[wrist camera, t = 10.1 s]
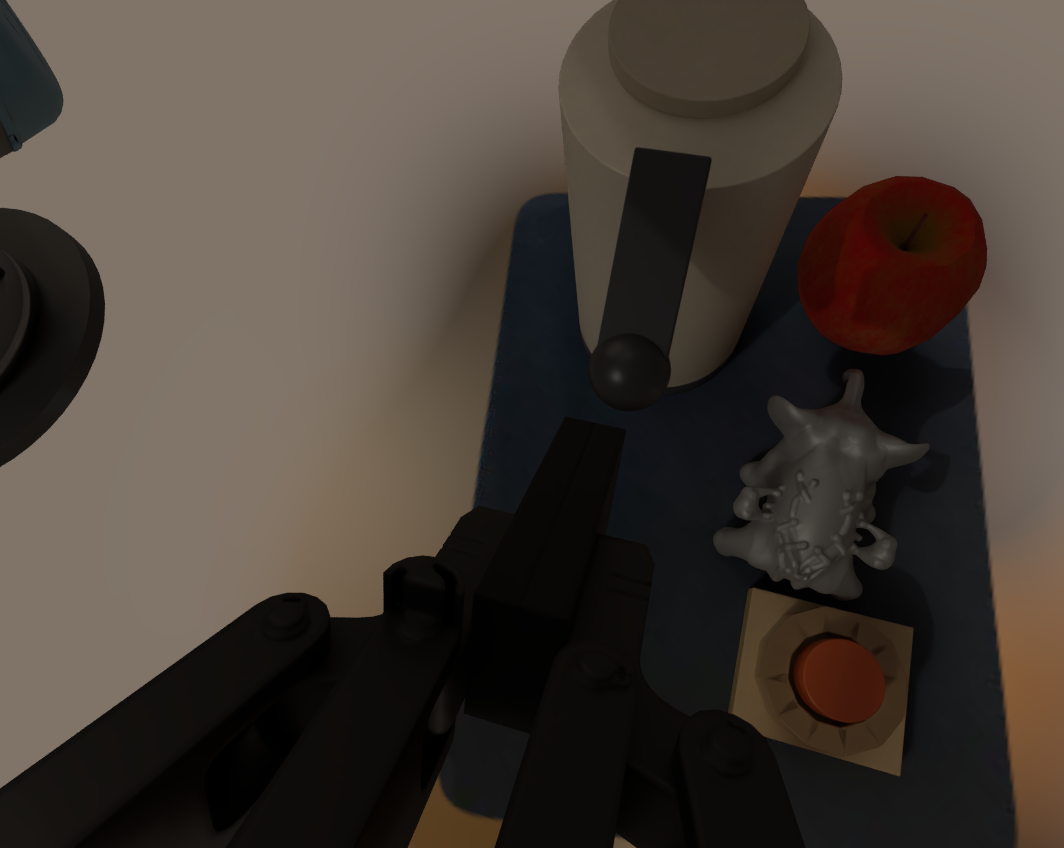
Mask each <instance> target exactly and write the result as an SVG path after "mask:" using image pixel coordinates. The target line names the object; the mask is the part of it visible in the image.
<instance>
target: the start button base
mask: <svg viewBox="0 0 1064 848" xmlns="http://www.w3.org/2000/svg"><path fill="white" fill-rule="evenodd" d="M821 639H846V640H850V641H853V642H856V643H858V644H860V645H861V646H863V647H864V648H866V649H867V650H868V651H869V652H870V653H871V654H872V655H873V656H874V657H875V658H876V660H877V661H878V663H879V664H880V666H881V668H882V671H883V674H884V678H885V684H886V690H885V697H884V700H883V702H882V705H881V706H880V708H879V709H878V711H877V712H876V713H875V714H874V715H872V716H871V717H870V718H868V719H866V720H864V721H861V722H856V723H845V722H840V721H837V720H834V719H831V718H828V717H825V716H822V715H820V714H818V713H816V712H815V711H813V710H812V709H811V708H810V707H809V706H808V705H807V704H806V703H805V702H804V701H803V700H802V698H801V697H800V695H799V693H798V691H797V689H796V686H795V682H794V665H795V661H796V658H797V656H798V655H799V653H800V652H801V650H802V649H803V648H804V647H805V646H807V645H808V644H810V643H812V642H814V641H817V640H821ZM912 640H913V628H912V627H908V626H904V625H900V624H896V623H892V622H888V621H884V620H880V619H876V618H872V617H868V616H864V615H860V614H856V613H852V612H848V611H845V610H841V609H837V608H833V607H829V606H825V605H821V604H817V603H813V602H809V601H805V600H801V599H797V598H793V597H789V596H785V595H781V594H777V593H773V592H769V591H766V590H762V589H758V588H751V589H749V590H748V594H747V601H746V607H745V613H744V619H743V625H742V631H741V637H740V643H739V649H738V655H737V661H736V667H735V674H734V680H733V686H732V692H731V698H730V704H729V710H728V713H732V714H735V715H736V716H738V717H740V718H742V719H743V720H745V721H747V722H749V723H750V724H752V725H753V726H754V727H755V728H756V729H757V730H758V731H759V732H760V733H761V734H762V735H763V736H764V737H768V738H771V739H775V740H778V741H781V742H785V743H788V744H792V745H795V746H798V747H802V748H805V749H809V750H812V751H815V752H819V753H822V754H826V755H829V756H832V757H836V758H839V759H843V760H846V761H849V762H853V763H856V764H860V765H863V766H866V767H870V768H873V769H877V770H880V771H883V772H887V773H890V774H894V775H897V776H900V774H901V763H902V752H903V740H904V729H905V718H906V707H907V696H908V685H909V674H910V662H911V651H912Z"/></svg>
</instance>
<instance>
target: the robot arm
mask: <svg viewBox="0 0 1064 848" xmlns="http://www.w3.org/2000/svg"><path fill="white" fill-rule="evenodd" d="M62 106H63V95H62V91H61V88H60V86H59V83H58V81H57V79H56V77H55V75H54V74H53V72H52V70H51V68H50V67H49V65H48V63H47V61H46V60H45V58H44V57H43V55H42V53H41V52H40V50H39V49H38V47H37V46H36V44H35V43H34V41H33V39H32V38H31V36H30V35H29V34H28V32H27V31H26V29H25V28H24V26H23V25H22V23H21V22H20V20H19V19H18V17H17V16H16V14H15V13H14V11H13V10H12V9H11V7H10V6H9V4H8V3H7V1H6V0H0V158H1V157H3V156H5V155H7V154H8V153H11V152H12V151H14V152H15V151H18V150H19V149H21V147H22V143H24V142H25V141H27V140H28V139H30V138H31V137H33V136H34V135H36V134H37V133H39V132H40V131H42V130H43V129H45V128H46V127H48V126H49V125H51V124H53V123H54V122H55V121H56V120H57V118H58V116H59V115H60V113H61V111H62ZM39 320H40V297H39V292H38V288H37V285H36V283H35V280H34V278H33V277H32V275H31V273H30V272H29V271H28V269H27V268H26V267H25V266H24V265H23V264H22V263H21V262H19V261H18V260H17V259H15V258H14V257H12V256H11V255H9V254H8V253H6V252H5V251H3V250H1V249H0V392H1V391H2V390H3V389H4V387H5V386H6V385H7V384H8V383H9V382H10V381H11V379H12V378H13V377H14V376H15V374H16V373H17V372H18V370H19V369H20V367H21V366H22V364H23V362H24V361H25V359H26V357H27V355H28V353H29V351H30V349H31V347H32V345H33V342H34V340H35V337H36V333H37V330H38V325H39ZM625 433H626V430H625V429H621V428H616V427H611V426H607V425H602V424H597V423H593V422H588V421H583V420H578V419H574V418H569V417H565V418H564V420H563V422H562V424H561V426H560V428H559V430H558V431H557V433H556V435H555V437H554V439H553V441H552V443H551V445H550V447H549V449H548V451H547V453H546V455H545V457H544V459H543V461H542V462H541V464H540V466H539V468H538V470H537V472H536V474H535V476H534V478H533V480H532V482H531V484H530V486H529V488H528V490H527V492H526V494H525V495H524V497H523V499H522V501H521V503H520V505H519V507H518V509H517V511H516V513H515V515H514V514H510V513H506V512H502V511H498V510H494V509H490V508H486V507H482V506H478V507H476V508H475V509H473V510H472V511H470V512H468V513H467V514H465V515H464V516H462V517H461V518H460V520H459V521H458V523H457V524H456V526H455V527H454V529H453V530H452V532H451V535H450V536H449V537H448V538H447V540H446V541H445V543H444V544H443V547H442V549H440V551H439V552H438V554H437V555H436V557H430V556H416V557H409V558H405V559H403V560H401V561H398V562H396V563H394V564H392V565H391V566H390V567H389V568H388V569H387V570H386V571H385V572H384V573H383V574H384V575H383V580H384V581H383V582H384V583H383V585H384V586H383V587H384V589H383V591H384V612H383V614H381V615H378V616H374V617H362V618H345V617H339V618H338V617H330V614H329V611H328V608H327V605H326V604H324V603H323V602H322V601H321V600H320V599H319V598H317V597H315V596H312V595H309V594H306V593H284V594H280V595H276V596H272V597H269V598H268V599H266V600H264V601H262V602H260V603H258V604H256V605H255V606H253V607H252V608H251V609H249V610H248V611H246V612H245V613H244V614H243V615H241V616H240V617H238V618H237V619H236V620H234V621H233V622H231V623H230V624H228V625H227V626H226V627H224V628H223V629H221V630H220V631H219V632H217V633H216V634H215V635H213V636H212V637H210V638H209V639H208V640H206V641H205V642H203V643H202V644H201V645H199V646H198V647H196V648H195V649H194V650H192V651H191V652H190V653H188V654H187V655H185V656H184V657H183V658H181V659H180V660H179V661H177V662H176V663H174V664H173V665H171V666H170V667H169V668H167V669H166V670H164V671H163V672H162V673H160V674H159V675H158V676H156V677H155V678H153V679H152V680H151V681H149V682H148V683H147V684H145V685H144V686H143V687H141V688H140V689H138V690H137V691H135V692H134V693H132V694H131V695H130V696H129V697H127V698H126V699H124V700H123V701H121V702H120V703H119V704H117V705H116V706H114V707H113V708H112V709H110V710H109V711H107V712H106V713H105V714H103V715H102V716H100V717H99V718H98V719H96V720H95V721H93V722H92V723H91V724H89V725H88V726H86V727H85V728H84V729H82V730H81V731H80V732H78V733H77V734H76V735H74V736H73V737H71V738H70V739H68V740H67V741H66V742H64V743H63V744H61V745H60V746H59V747H57V748H56V749H54V750H53V751H52V752H50V753H49V754H48V755H46V756H45V757H43V758H42V759H41V760H39V761H38V762H36V763H35V764H34V765H32V766H31V767H30V768H28V769H27V770H25V771H24V772H22V773H21V774H20V775H18V776H17V777H16V778H14V779H13V780H11V781H10V782H9V783H7V784H6V785H4V786H3V787H2V788H0V848H408V845H409V843H410V841H411V838H412V836H413V834H414V831H415V829H416V826H417V824H418V822H419V820H420V817H421V815H422V813H423V810H424V808H425V805H426V803H427V801H428V798H429V796H430V794H431V791H432V789H433V787H434V784H435V782H436V780H437V777H438V775H439V773H440V770H441V768H442V766H443V763H444V761H445V758H446V756H447V754H448V751H449V749H450V747H451V744H452V742H453V737H454V732H455V722H456V716H457V714H458V712H459V709H460V707H461V705H462V702H463V700H464V698H465V708H464V714H468V715H471V716H474V717H477V718H480V719H484V720H487V721H490V722H493V723H497V724H500V725H503V726H506V727H510V728H513V729H516V730H519V731H522V732H526V733H529V734H530V737H529V740H528V743H527V746H526V749H525V752H524V756H523V759H522V762H521V765H520V768H519V772H518V775H517V778H516V781H515V784H514V787H513V791H512V794H511V797H510V800H509V803H508V807H507V810H506V813H505V816H504V819H503V822H502V826H501V829H500V832H499V836H498V839H497V842H496V845H495V848H613V845H614V839H615V832H616V833H617V834H618V835H620V836H621V837H623V838H624V839H625V840H627V841H628V842H630V843H631V844H632V845H634V846H635V847H636V848H805V845H804V842H803V839H802V836H801V833H800V830H799V827H798V824H797V821H796V818H795V815H794V812H793V809H792V806H791V803H790V800H789V797H788V794H787V791H786V788H785V785H784V782H783V779H782V776H781V773H780V770H779V767H778V764H777V761H776V758H775V755H774V753H773V751H772V750H771V748H770V746H769V744H768V742H767V740H766V738H765V737H764V736H763V735H762V734H761V733H760V732H759V731H758V730H757V729H756V728H755V727H754V726H753V725H752V724H750V723H749V722H747V721H745V720H743V719H742V718H740V717H738V716H736V715H735V714H732V713H728V712H724V711H720V710H705V711H699V712H697V713H695V714H693V715H692V716H690V717H689V716H687V715H685V714H684V713H682V712H680V711H679V710H677V709H675V708H674V707H672V706H670V705H669V704H668V703H666V702H665V701H664V700H662V699H661V698H659V697H658V696H657V694H656V693H655V692H654V691H653V690H652V689H651V688H650V687H649V685H648V684H647V682H646V680H645V679H644V677H643V674H642V671H641V667H640V654H641V648H642V641H643V635H644V628H645V622H646V615H647V609H648V602H649V596H650V589H651V583H652V576H653V570H654V562H653V559H652V557H651V554H650V552H649V550H648V547H647V545H644V544H640V543H635V542H631V541H627V540H623V539H619V538H615V537H611V536H607V535H605V532H606V529H607V525H608V521H609V516H610V511H611V506H612V500H613V495H614V490H615V485H616V480H617V475H618V470H619V464H620V459H621V454H622V449H623V444H624V439H625Z"/></svg>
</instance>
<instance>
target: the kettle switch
mask: <svg viewBox="0 0 1064 848" xmlns="http://www.w3.org/2000/svg"><path fill="white" fill-rule="evenodd" d="M711 162H712V159H711V157H709V156H701V155H694V154H686V153H679V152H671V151H664V150H656V149H649V148H641V147H636V148H635V150H634V154H633V160H632V165H631V170H630V175H629V181H628V186H627V191H626V196H625V202H624V207H623V212H622V217H621V223H620V228H619V233H618V239H617V244H616V249H615V254H614V260H613V265H612V270H611V275H610V281H609V286H608V291H607V296H606V302H605V307H604V312H603V317H602V323H601V328H600V333H599V338H598V344H597V346H596V348H595V349H594V351H593V353H592V355H591V358H590V361H589V367H588V374H589V380H590V384H591V386H592V388H593V390H594V392H595V394H596V395H597V396H598V397H599V398H600V399H601V400H602V401H603V402H604V403H605V404H607V405H608V406H610V407H612V408H615V409H618V410H622V411H637V410H641V409H644V408H646V407H648V406H650V405H652V404H653V403H655V402H656V401H657V400H658V399H659V398H660V397H661V396H662V395H663V393H664V392H665V390H666V388H667V386H668V384H669V380H670V376H671V364H670V359H669V353H670V349H671V344H672V340H673V335H674V331H675V326H676V322H677V317H678V312H679V308H680V303H681V299H682V294H683V290H684V285H685V281H686V276H687V271H688V267H689V262H690V258H691V253H692V249H693V244H694V240H695V235H696V230H697V226H698V221H699V217H700V212H701V208H702V203H703V199H704V194H705V189H706V185H707V180H708V176H709V171H710V167H711Z"/></svg>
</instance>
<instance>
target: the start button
mask: <svg viewBox="0 0 1064 848" xmlns="http://www.w3.org/2000/svg"><path fill="white" fill-rule="evenodd" d="M794 682H795V686H796V689H797V691H798V693H799V695H800V697H801V698H802V700H803V701H804V702H805V703H806V704H807V705H808V706H809V707H810V708H811V709H812V710H813V711H815V712H816V713H818V714H820V715H822V716H825V717H828V718H831V719H834V720H837V721H840V722H845V723H856V722H861V721H864V720H866V719H868V718H870V717H871V716H872V715H874V714H875V713H876V712H877V711H878V709H879V708H880V706H881V705H882V702H883V700H884V697H885V690H886V684H885V678H884V674H883V671H882V668H881V666H880V664H879V663H878V661H877V660H876V658H875V657H874V656H873V655H872V654H871V653H870V652H869V651H868V650H867V649H866V648H864V647H863V646H861V645H860V644H858V643H856V642H853V641H850V640H846V639H821V640H817V641H814V642H812V643H810V644H808V645H807V646H805V647H804V648H803V649H802V650H801V652H800V653H799V655H798V656H797V658H796V661H795V665H794Z"/></svg>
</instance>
